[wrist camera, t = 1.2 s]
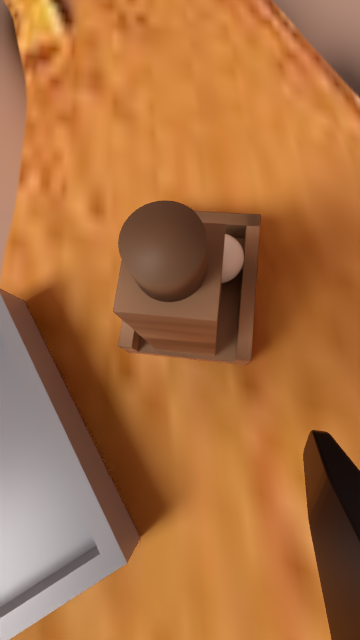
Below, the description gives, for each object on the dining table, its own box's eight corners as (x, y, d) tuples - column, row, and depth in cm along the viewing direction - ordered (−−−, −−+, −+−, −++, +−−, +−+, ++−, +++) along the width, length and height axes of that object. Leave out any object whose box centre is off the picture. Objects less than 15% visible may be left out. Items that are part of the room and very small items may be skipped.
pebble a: (248, 274, 21) (258, 255, 18) (209, 298, 21) (213, 283, 18) (223, 238, 21) (228, 214, 19) (185, 261, 21) (184, 240, 18)
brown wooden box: (245, 365, 21) (292, 316, 9) (130, 352, 21) (25, 293, 9) (254, 236, 23) (303, 52, 11) (148, 230, 24) (82, 54, 12)
